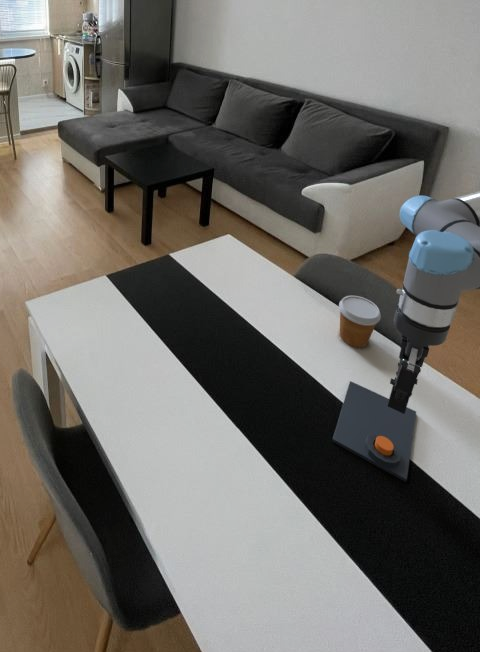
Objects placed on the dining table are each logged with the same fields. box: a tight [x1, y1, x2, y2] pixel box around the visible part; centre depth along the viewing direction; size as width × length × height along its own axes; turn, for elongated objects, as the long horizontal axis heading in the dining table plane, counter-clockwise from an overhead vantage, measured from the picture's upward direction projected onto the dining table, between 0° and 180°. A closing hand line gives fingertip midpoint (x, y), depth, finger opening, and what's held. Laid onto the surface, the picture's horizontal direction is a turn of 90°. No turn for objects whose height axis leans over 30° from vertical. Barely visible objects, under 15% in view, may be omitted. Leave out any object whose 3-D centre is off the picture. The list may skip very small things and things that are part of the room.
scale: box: [331, 380, 417, 483], centre depth 94 cm, size 18×13×4 cm
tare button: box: [375, 436, 394, 456], centre depth 88 cm, size 3×3×2 cm
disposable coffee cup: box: [338, 295, 382, 348], centre depth 115 cm, size 10×10×12 cm
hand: (396, 407), depth 84 cm, fingers closed
